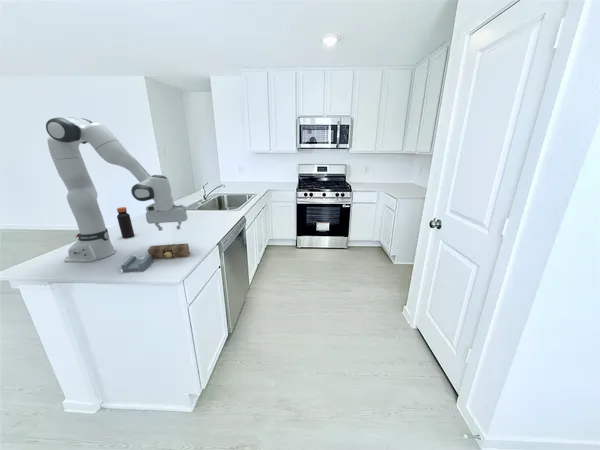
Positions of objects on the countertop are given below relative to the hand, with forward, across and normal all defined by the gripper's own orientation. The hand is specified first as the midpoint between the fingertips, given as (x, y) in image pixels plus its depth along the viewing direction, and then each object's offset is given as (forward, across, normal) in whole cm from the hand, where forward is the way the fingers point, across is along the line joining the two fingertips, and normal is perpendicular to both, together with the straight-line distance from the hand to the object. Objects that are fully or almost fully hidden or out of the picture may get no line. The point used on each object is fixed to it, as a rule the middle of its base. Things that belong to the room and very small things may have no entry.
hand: (169, 229), depth 136 cm
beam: (+14, 0, +6) cm, 15 cm away
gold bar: (+14, 0, +3) cm, 14 cm away
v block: (+13, +12, +16) cm, 24 cm away
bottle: (+14, +38, -32) cm, 52 cm away
